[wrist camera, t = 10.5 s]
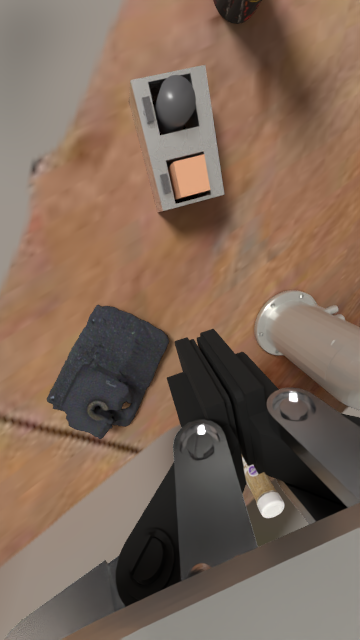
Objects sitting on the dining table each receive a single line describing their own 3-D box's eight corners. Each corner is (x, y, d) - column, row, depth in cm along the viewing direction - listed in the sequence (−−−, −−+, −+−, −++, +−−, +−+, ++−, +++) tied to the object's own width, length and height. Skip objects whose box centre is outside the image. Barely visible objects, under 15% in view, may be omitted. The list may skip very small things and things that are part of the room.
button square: (192, 163, 32) (204, 154, 28) (198, 193, 34) (210, 189, 29) (165, 169, 32) (173, 161, 27) (172, 200, 33) (181, 197, 29)
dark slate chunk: (181, 334, 43) (188, 346, 39) (124, 428, 48) (124, 449, 44) (96, 295, 38) (93, 304, 33) (41, 406, 42) (32, 427, 38)
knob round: (180, 94, 29) (191, 71, 25) (187, 132, 31) (199, 117, 26) (149, 100, 29) (154, 79, 24) (157, 139, 30) (164, 125, 26)
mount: (192, 87, 31) (206, 61, 25) (211, 197, 36) (226, 194, 31) (128, 101, 30) (130, 77, 25) (157, 212, 35) (163, 210, 30)
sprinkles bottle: (243, 437, 56) (278, 498, 43) (253, 446, 58) (289, 508, 45) (227, 449, 56) (257, 513, 44) (237, 458, 58) (269, 522, 46)
